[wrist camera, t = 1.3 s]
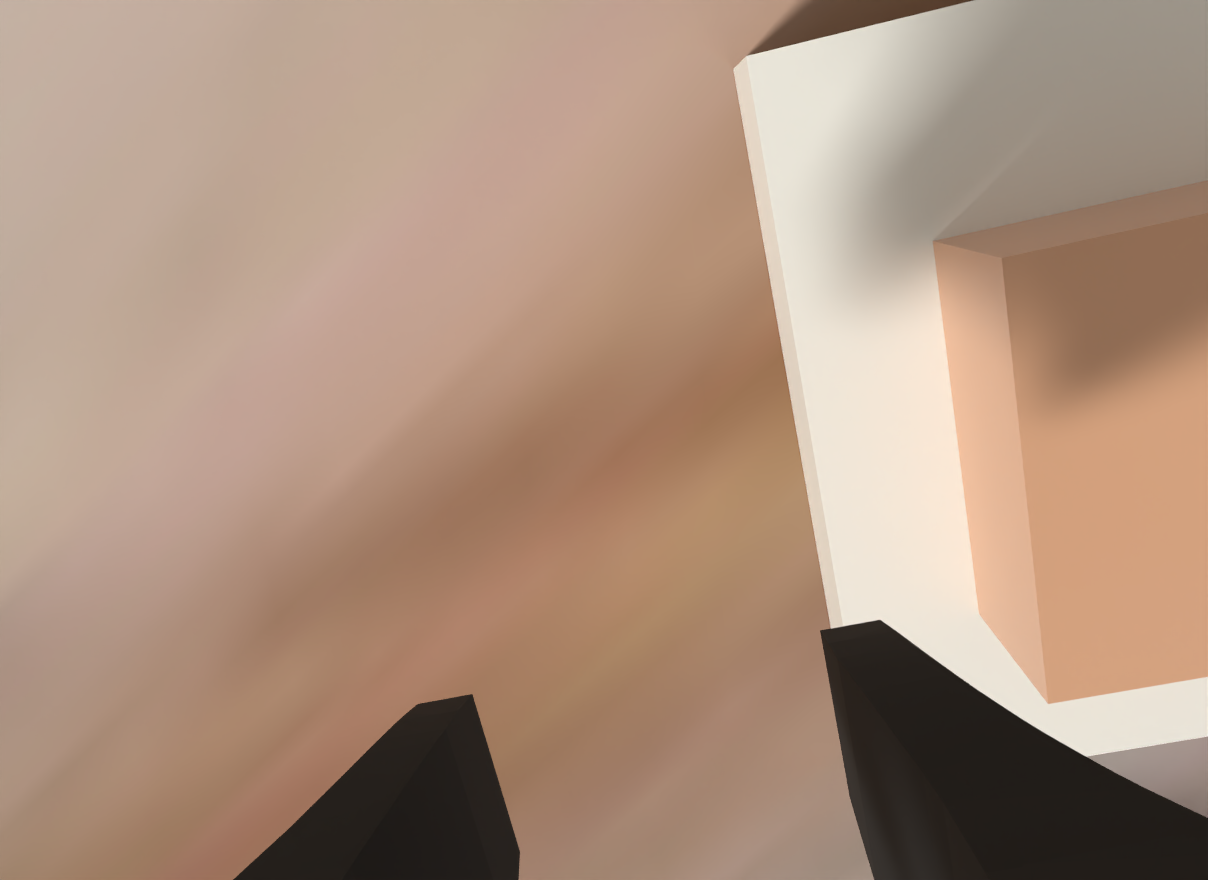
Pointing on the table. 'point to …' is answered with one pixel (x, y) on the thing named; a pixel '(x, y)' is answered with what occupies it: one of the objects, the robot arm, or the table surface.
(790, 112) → the board
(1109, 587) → the brick
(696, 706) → the table surface
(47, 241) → the table surface
